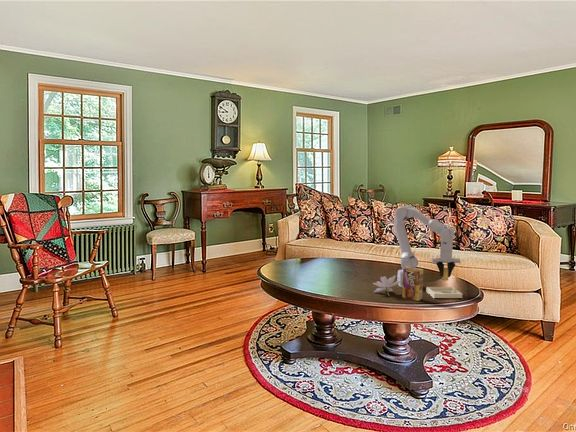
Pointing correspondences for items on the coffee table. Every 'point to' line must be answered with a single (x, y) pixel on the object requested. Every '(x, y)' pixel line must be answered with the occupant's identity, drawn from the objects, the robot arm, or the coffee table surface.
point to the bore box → (443, 292)
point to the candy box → (412, 283)
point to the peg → (445, 274)
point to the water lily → (386, 284)
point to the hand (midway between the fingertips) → (445, 276)
